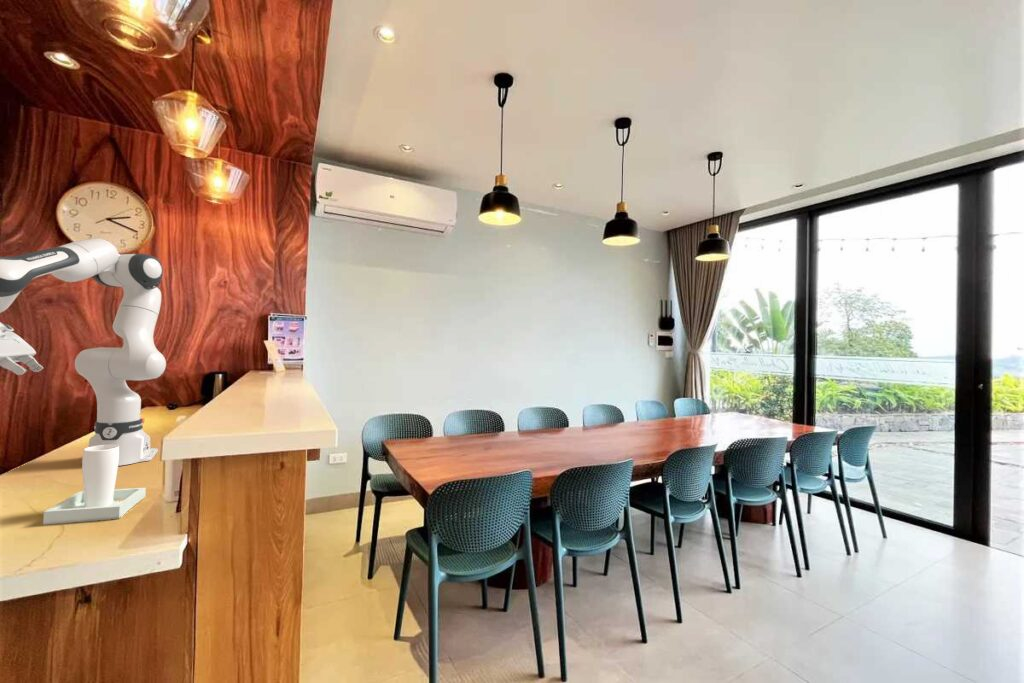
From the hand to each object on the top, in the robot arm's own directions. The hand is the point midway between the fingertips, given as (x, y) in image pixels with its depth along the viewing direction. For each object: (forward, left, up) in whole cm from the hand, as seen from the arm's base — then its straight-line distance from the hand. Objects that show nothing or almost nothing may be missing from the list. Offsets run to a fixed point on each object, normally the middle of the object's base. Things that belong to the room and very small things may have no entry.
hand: (31, 371), depth 115 cm
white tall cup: (+13, +21, -33) cm, 41 cm away
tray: (+14, +21, -33) cm, 42 cm away
